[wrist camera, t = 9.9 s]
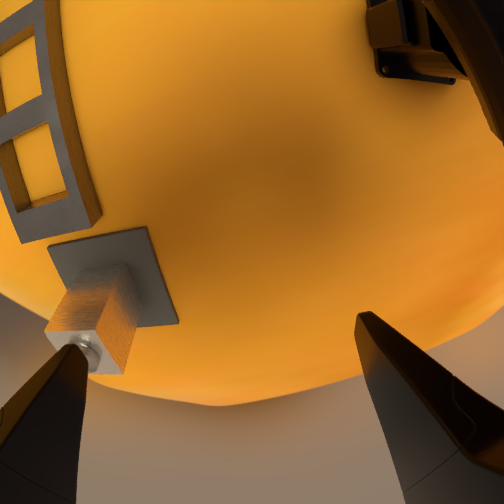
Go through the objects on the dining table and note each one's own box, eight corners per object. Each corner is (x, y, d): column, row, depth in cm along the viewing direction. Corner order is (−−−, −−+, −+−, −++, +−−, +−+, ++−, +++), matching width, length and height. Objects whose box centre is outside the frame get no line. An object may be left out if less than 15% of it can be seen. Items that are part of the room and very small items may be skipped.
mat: (146, 226, 20) (144, 228, 20) (179, 320, 25) (178, 324, 24) (49, 245, 20) (46, 248, 20) (91, 327, 25) (89, 330, 25)
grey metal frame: (60, -72, 7) (48, -79, 5) (102, 214, 19) (91, 227, 18) (-9, -27, 7) (-23, -30, 5) (33, 231, 19) (21, 243, 18)
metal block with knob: (125, 262, 21) (91, 337, 14) (143, 305, 23) (121, 381, 17) (80, 269, 21) (40, 338, 15) (100, 309, 23) (72, 379, 17)
